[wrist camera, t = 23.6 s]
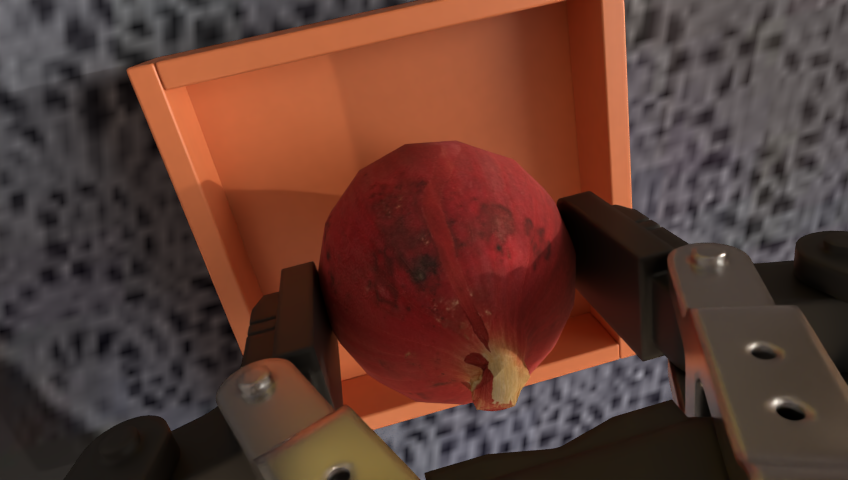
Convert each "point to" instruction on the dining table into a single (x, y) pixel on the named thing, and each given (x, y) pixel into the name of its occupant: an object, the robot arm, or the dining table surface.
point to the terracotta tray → (387, 137)
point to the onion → (447, 274)
